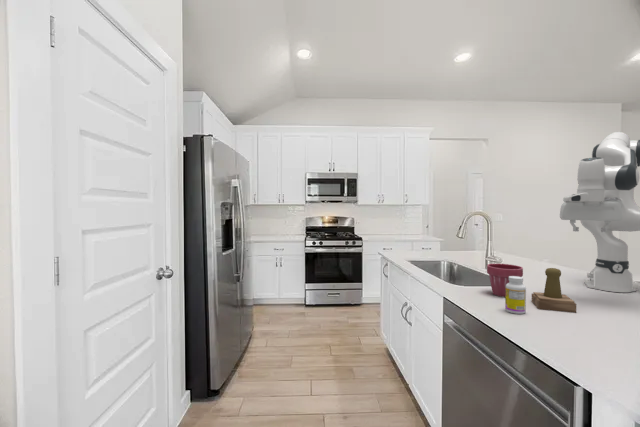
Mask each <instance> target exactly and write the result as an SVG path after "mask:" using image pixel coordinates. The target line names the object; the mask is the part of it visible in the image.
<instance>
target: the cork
mask: <svg viewBox="0 0 640 427" xmlns="http://www.w3.org/2000/svg"><path fill="white" fill-rule="evenodd" d="M544 272H545V276H546V279H545V283H544V292H543V293H544V296H546V297H550V298H562V286H561V280H560V279H561V278H560V277H561V276H562V271H561V270H560V269H559V268H555V267H547V268H546V269H545V271H544Z"/></svg>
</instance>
